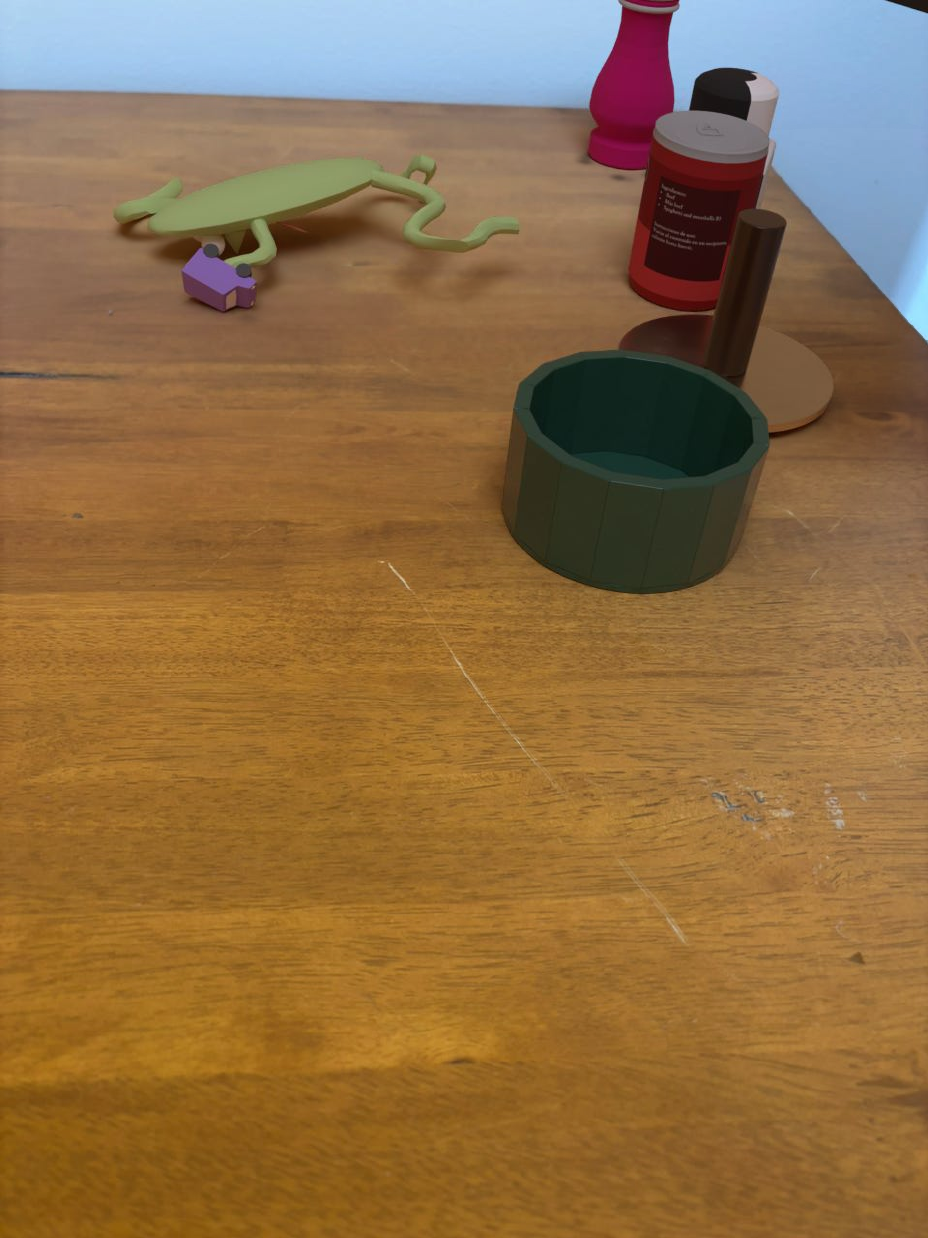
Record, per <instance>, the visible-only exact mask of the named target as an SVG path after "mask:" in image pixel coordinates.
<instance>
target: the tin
mask: <svg viewBox="0 0 928 1238" xmlns="http://www.w3.org/2000/svg"><path fill="white" fill-rule="evenodd" d="M770 447H771V445H770V433H769V432H768V421H767V418H766V417H765V415H764V414H763V413H762V412H761V410H760V409H759V408H758V407H757V405H756V404H755V403H754V402H753V400H752V399H751V398H750V397H749V395H748V394H747V393H745V392H744V391H742V390H741V389H739V388H738V387H736V386H734V385H733V384H731V383H730V382H728V381H726V380H725V379H723V378H722V377H720V376H719V375H717V374H715V373H714V372H712V371H710V370H707V369H704V368H702V367H699V366H696V365H693V364H690V363H687V362H684V361H681V360H678V359H675V358H673V357H669V356H663V355H656V354H649V353H642V352H635V351H628V350H617V349H607V350H591V351H590V350H589V351H579V352H575V353H572V354H569V355H565V356H563V357H559V358H557V359H553V360H550V361H546V362H544V363H542V364H540V365H539V366H537V368H535V369H534V370H533V371H531V373H530V374H528V375H527V376H526V377H525V378H524V379H523V380H521V381H520V382H519V383H518V387H517V391H516V395H515V399H514V403H513V408H512V415H511V424H510V433H509V441H508V449H507V456H506V457H507V458H506V465H505V475H504V482H503V491H502V498H501V507H502V511H503V512H502V513H503V518H504V521H505V524H506V527H507V529H508V531H509V533H510V535H511V536H512V537H513V539H514V540H515V541H516V542H517V544H518V545H519V547H520V548H522V549H523V550H524V552H526V554H528V555H529V556H530V557H531V558H532V559H534V560H535V561H537V562H538V563H539V564H540V565H542V566H544V567H546V568H547V569H549V570H551V571H552V572H555V573H557V574H558V575H561V576H562V577H564V578H567V579H570V580H572V581H574V582H577V583H579V584H584V585H587V586H589V587H594V588H596V589H602V590H607V591H608V590H609V591H613V592H619V593H627V594H660V593H667V592H668V593H669V592H675V591H680V590H684V589H687V588H691V587H694V586H696V585H699V584H701V583H704V582H706V581H707V580H709V579H711V578H713V577H714V576H716V575H717V574H719V573H720V572H721V571H722V570H723V569H724V568H726V566H727V565H728V564H729V563H730V561H732V558H733V557H734V555H735V553H736V550H737V548H738V547H739V546H740V544H741V542H742V539H743V536H744V532H745V530H746V526H747V522H748V519H749V516H750V513H751V509H752V506H753V503H754V499H755V496H756V493H757V490H758V486H759V483H760V480H761V476H762V473H763V469H764V467H765V463H766V460H767V457H768V453H769V450H770Z"/></svg>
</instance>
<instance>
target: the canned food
mask: <svg viewBox="0 0 928 1238" xmlns="http://www.w3.org/2000/svg"><path fill="white" fill-rule="evenodd" d="M770 139H771V138H770V136H769V137H768V135H767V134H766V133H765V132H764V131H763V130H762V129H760V128H759V127H757V126H756V125H754V124H752V123H750V122H748V121H745V120H743V119H740V118H737V117H733V116H730V115H725V114H721V113H715V112H708V111H689V110H679V111H673V113H669V114H666V115H663V116H662V117H660V118H659V119H658V120H657V121H656V125H655V128H654V130H653V136H652V141H651V145H650V151H649V156H648V162H647V167H646V168H645V169H646V170H645V173H644V179H643V185H642V190H641V196H640V202H639V207H638V213H637V219H636V224H635V230H634V235H633V240H632V245H631V246H632V247H631V252H630V257H629V264H628V277H629V283H630V285H631V287H632V288H633V290H634V291H635V292H636V293H637V294H638V295H639V296H641V297H642V298H643V299H645V300H647V301H649V302H651V303H653V304H656V305H658V306H660V307H665V308H669V309H673V310H679V311H687V312H688V311H689V312H700V311H706V310H707V311H709V310H712V309H715V308H716V304H717V299H718V295H719V291H720V287H721V283H722V279H723V275H724V271H725V266H726V262H727V258H728V254H729V250H730V246H731V242H732V237H733V233H734V229H735V225H736V221H737V217H738V214H739V213H740V212H741V211H743V210H746V209H754V208H755V204H756V200H757V196H758V192H759V188H760V184H761V180H762V176H763V173H764V169H765V163H766V159H767V155H768V151H769V143H770Z"/></svg>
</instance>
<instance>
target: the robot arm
mask: <svg viewBox="0 0 928 1238" xmlns="http://www.w3.org/2000/svg"><path fill="white" fill-rule="evenodd" d="M884 1H886V2H888V3H892V4H895V5H897V6H898V5H899V6H902V7H904V8H905V7H906V8H908V9H912V10H914V11H918V12H921V13H925V14H928V0H884Z"/></svg>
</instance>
